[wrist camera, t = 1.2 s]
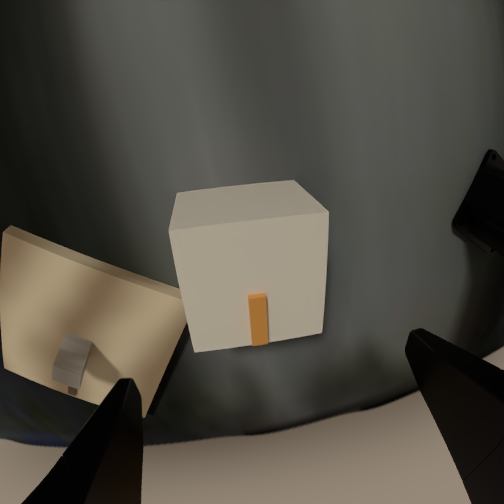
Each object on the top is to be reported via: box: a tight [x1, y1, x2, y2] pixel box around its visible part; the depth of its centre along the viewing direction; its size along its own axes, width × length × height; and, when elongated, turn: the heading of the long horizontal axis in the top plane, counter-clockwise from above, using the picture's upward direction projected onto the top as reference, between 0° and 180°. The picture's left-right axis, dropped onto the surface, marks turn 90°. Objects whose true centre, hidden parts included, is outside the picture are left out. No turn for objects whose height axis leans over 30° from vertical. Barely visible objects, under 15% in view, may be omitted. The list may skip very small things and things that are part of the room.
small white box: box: [169, 180, 329, 352], centre depth 15 cm, size 6×6×5 cm
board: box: [0, 225, 187, 418], centre depth 17 cm, size 12×12×4 cm
